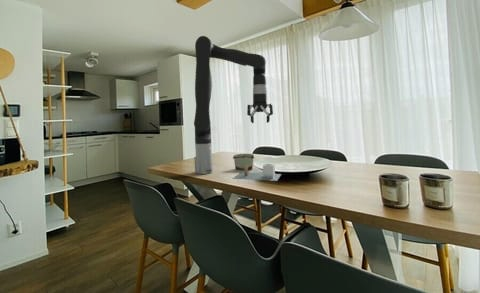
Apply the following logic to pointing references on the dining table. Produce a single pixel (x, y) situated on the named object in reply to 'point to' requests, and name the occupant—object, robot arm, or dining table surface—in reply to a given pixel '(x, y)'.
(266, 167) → the white block
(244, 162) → the food container
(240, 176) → the board
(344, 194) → the dining table surface
